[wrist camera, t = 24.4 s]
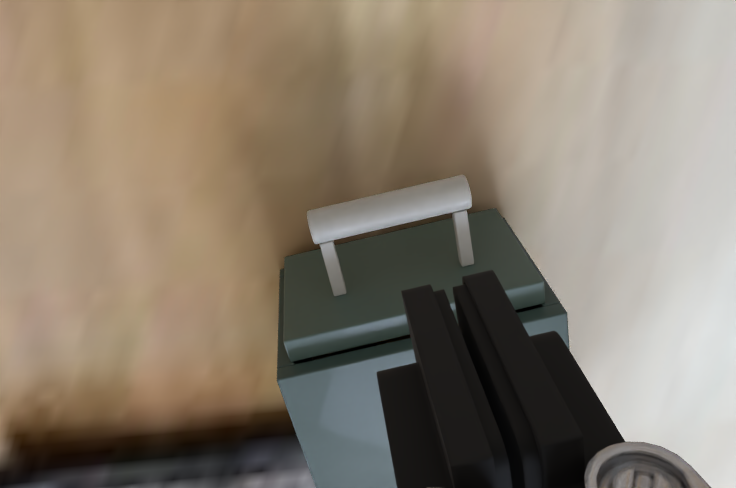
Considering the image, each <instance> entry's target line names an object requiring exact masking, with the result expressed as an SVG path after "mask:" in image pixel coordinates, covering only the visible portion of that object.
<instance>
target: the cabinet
mask: <svg viewBox="0 0 736 488" xmlns="http://www.w3.org/2000/svg"><path fill="white" fill-rule="evenodd" d="M503 220H504V221H505V223H506V224H507V226H508V228H509V229H510V231H511V232H512V234H513V235H514V237H515V238H516V240H517V241H518V243H519V244H520V246H521V247H522V249H523V250H524V252H525V253H526V255H527V256H528V258H529V260H530V261H531V263H532V264H533V266H534V267H535V269H536V270H537V272H538V273H539V275H540V276H541V278H542V279H543V281H544V288H545V303H543V304H539V305H535V306H531V307H526V308H522V309H520V310H521V312H519V313H517V314H518V316H519V318H520V320H521V322H522V324H523V326H524V327H525V329H526V331H527V333H528V335H529V336H533V335H537V334H541V333H546V332H550V331H556V332H557V333H558V334H559V335H560V337H561V338H562V339H563V341H564V343H565V344H566V346H567V348H568V349H569V336H568V319H567V312H566V310H565V309H564V307H563V306H562V304H561V303H560V301H559V300H558V298H557V297H556V295H555V294H554V292H553V291H552V289H551V288H550V286H549V285H548V283H547V282H546V280H545V279H544V277H543V276H542V274H541V273H540V271H539V270H538V268H537V267H536V265H535V264H534V262H533V261H532V259H531V258H530V256H529V255H528V253H527V251H526V250H525V248H524V247H523V245H522V244H521V242H520V241H519V239H518V238H517V236H516V235H515V233H514V232H513V230H512V229H511V227H510V226H509V225H508V223H507V221H506V220H505V218H503ZM283 331H284V269H281V270H280V283H279V321H278V359H277V382H278V385H279V388H280V390H281V393H282V396H283V399H284V401H285V404H286V407H287V410H288V412H289V415H290V418H291V420H292V423H293V426H294V429H295V431H296V434H297V437H298V440H299V442H300V445H301V448H302V451H303V453H304V456H305V459H306V462H307V464H308V467H309V470H310V473H311V475H312V478H313V481H314V483H315V486H316V488H397V485H396V479H395V474H394V468H393V463H392V457H391V452H390V446H389V441H388V435H387V430H386V424H385V418H384V413H383V407H382V402H381V396H380V391H379V385H378V380H377V372H378V371H382V370H386V369H391V368H395V367H399V366H404V365H408V364H412V363H416V359H415V354H414V350H413V345H412V341H411V338H407V339H403V340H398V341H394V342H390V343H385V344H381V345H377V346H373V347H368V348H364V349H360V350H355V351H351V352H347V353H342V354H338V355H334V356H329V357H325V358H321V359H317V360H312V357H311V358H307V359H302V360H298V361H294V362H290V360H289V357H288V354H287V351H286V349H285V346H284V343H283Z"/></svg>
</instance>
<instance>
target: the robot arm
mask: <svg viewBox="0 0 736 488" xmlns="http://www.w3.org/2000/svg"><path fill="white" fill-rule="evenodd" d="M462 284H463V285H459V286H455V287H453V295H454V301H455V307H456V313H457V319H458V323H457V321H456V318H455V316H454V313H453V310H452V308H451V305H450V303H449V300H448V298H447V295H446V293H445V290H444V289H442V290H438V291H434V292H433V289H432V286H431V285H430V284H428V285H424V286H420V287H415V288H411V289H407V290H402V291H401V294H402V299H403V304H404V308H405V313H406V317H407V322H408V327H409V331H410V336H411V341H412V345H413V350H414V354H415V359H416V363H412V364H408V365H404V366H399V367H395V368H391V369H386V370H382V371H378V372H377V380H378V385H379V391H380V396H381V402H382V407H383V413H384V418H385V424H386V430H387V435H388V441H389V446H390V452H391V457H392V463H393V468H394V474H395V479H396V485H397V488H711V487H710V486H709V485H708V484H707V483H706V482H705V481H704V479H703V478H702V477H701V476H700V475H699V474H698V473H697V472H696V471H695V470H694V469H693V468H692V467H691V466H690V465H689V464H688V463H687V462H686V461H684V460H683V459H682V458H681V457H680V456H678V455H677V454H675V453H673V452H671V451H669V450H667V449H665V448H663V447H661V446H657V445H653V444H649V443H645V442H625V441H624V439H623V437H622V436H621V434H620V432H619V431H618V429H617V428H616V426H615V424H614V423H613V421H612V419H611V418H610V416H609V415H608V413H607V411H606V410H605V408H604V406H603V405H602V403H601V401H600V400H599V398H598V397H597V395H596V393H595V392H594V390H593V388H592V387H591V385H590V384H589V382H588V380H587V379H586V377H585V375H584V374H583V372H582V370H581V369H580V367H579V366H578V364H577V362H576V361H575V359H574V357H573V356H572V354H571V352H570V351H569V349H568V348H567V346H566V344H565V343H564V341H563V339H562V338H561V337H560V335H559V334H558V333H557V332H556V331H550V332H546V333H541V334H537V335H533V336H529V335H528V333H527V331H526V329H525V327H524V326H523V324H522V322H521V320H520V318H519V316H518V314H517V313H516V311H515V309H514V307H513V305H512V303H511V302H510V300H509V298H508V296H507V294H506V292H505V290H504V289H503V287H502V285H501V283H500V281H499V279H498V278H497V276H496V274H495V272H494V271H493V270H488V271H484V272H480V273H475V274H471V275H467V276H463V277H462ZM458 325H459V326H458Z"/></svg>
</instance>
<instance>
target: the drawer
mask: <svg viewBox="0 0 736 488" xmlns="http://www.w3.org/2000/svg"><path fill="white" fill-rule="evenodd" d="M471 206H472V197H471V191H470V187H469V184H468V181H467V179H466V177H465V175H458V176H454V177H449V178H445V179H441V180H437V181H432V182H428V183H424V184H419V185H415V186H411V187H407V188H402V189H398V190H394V191H390V192H385V193H381V194H377V195H372V196H368V197H364V198H360V199H355V200H351V201H347V202H342V203H338V204H334V205H330V206H325V207H321V208H317V209H312V210H308V211H307V220H308V225H309V229H310V233H311V236H312V239H313V242H314V243H315V244H319V243H320V248H321V249H317V250H313V251H309V252H304V253H300V254H296V255H291V256H287V257H285V261H284V331H283V343H284V346H285V349H286V351H287V354H288V357H289V360H290V362H294V361H298V360H302V359H307V358H311V357H312V360H317V359H321V358H325V357H329V356H334V355H338V354H342V353H347V352H351V351H355V350H360V349H364V348H368V347H373V346H377V342H380V341H384V340H389V339H393V338H397V337H401V336H406V335H410V331H409V327H408V322H407V317H406V313H405V308H404V304H403V299H402V294H401V291H402V290H407V289H411V288H415V287H420V286H424V285H428V284H430V285H431V286H432V289H433V292H434V291H438V290H442V289H444V290H445V293H446V295H447V298H448V300H449V303H450V305H451V308H452V310H453V313H454V316H455V318H456V321H457V323H458V319H457V313H456V307H455V301H454V295H453V287H455V286H459V285H463V284H462V277H463V276H467V275H471V274H475V273H480V272H484V271H488V270H493V271H494V272H495V274H496V276H497V278H498V279H499V281H500V283H501V285H502V287H503V289H504V290H505V292H506V294H507V296H508V298H509V300H510V302H511V303H512V305H513V307H514V309H515V311H516V313H519V312H521V310H520V309H522V308H526V307H531V306H535V305H539V304H543V303H545V288H544V281H543V279H542V278H541V276H540V275H539V273H538V272H537V270H536V269H535V267H534V266H533V264H532V263H531V261H530V260H529V258H528V256H527V255H526V253H525V252H524V250H523V249H522V247H521V246H520V244H519V243H518V241H517V240H516V238H515V237H514V235H513V234H512V232H511V231H510V229H509V228H508V226H507V224H506V223H505V221H504V220H503V218H502V217H501V215H500V214H499V212H498V211H497V209H496V208H493V209H489V210H484V211H480V212H476V213H471V214H467V210H466V209H469V208H471ZM447 213H452V218H450V219H446V220H441V221H437V222H433V223H429V224H424V225H420V226H416V227H411V228H407V229H403V230H399V231H394V232H390V233H386V234H381V235H377V236H373V237H369V238H364V239H360V240H356V241H351V242H347V243H343V244H339V245H334V241H333V240H336V239H340V238H345V237H349V236H353V235H358V234H362V233H366V232H370V231H375V230H379V229H383V228H388V227H392V226H396V225H400V224H405V223H409V222H413V221H417V220H422V219H426V218H430V217H435V216H439V215H443V214H447ZM458 326H459V325H458Z"/></svg>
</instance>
